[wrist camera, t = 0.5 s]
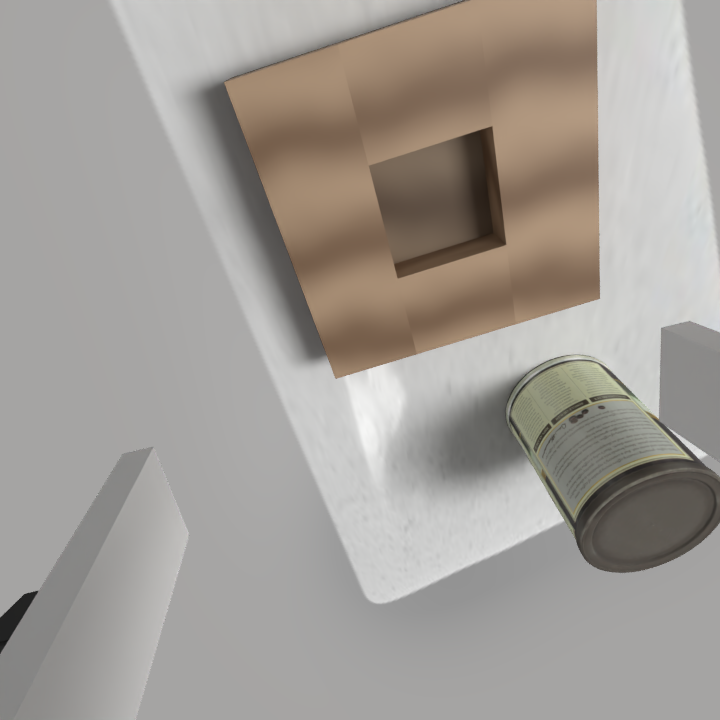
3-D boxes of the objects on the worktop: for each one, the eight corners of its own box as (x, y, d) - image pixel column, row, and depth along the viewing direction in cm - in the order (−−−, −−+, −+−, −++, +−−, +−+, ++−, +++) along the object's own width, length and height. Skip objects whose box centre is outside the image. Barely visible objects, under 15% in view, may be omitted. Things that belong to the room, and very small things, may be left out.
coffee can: (637, 371, 45) (762, 488, 33) (571, 454, 50) (659, 582, 38) (546, 338, 42) (648, 454, 30) (483, 430, 47) (551, 562, 35)
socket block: (230, 78, 29) (223, 82, 26) (564, -33, 29) (596, -42, 26) (332, 354, 40) (335, 378, 37) (576, 279, 39) (599, 298, 36)
